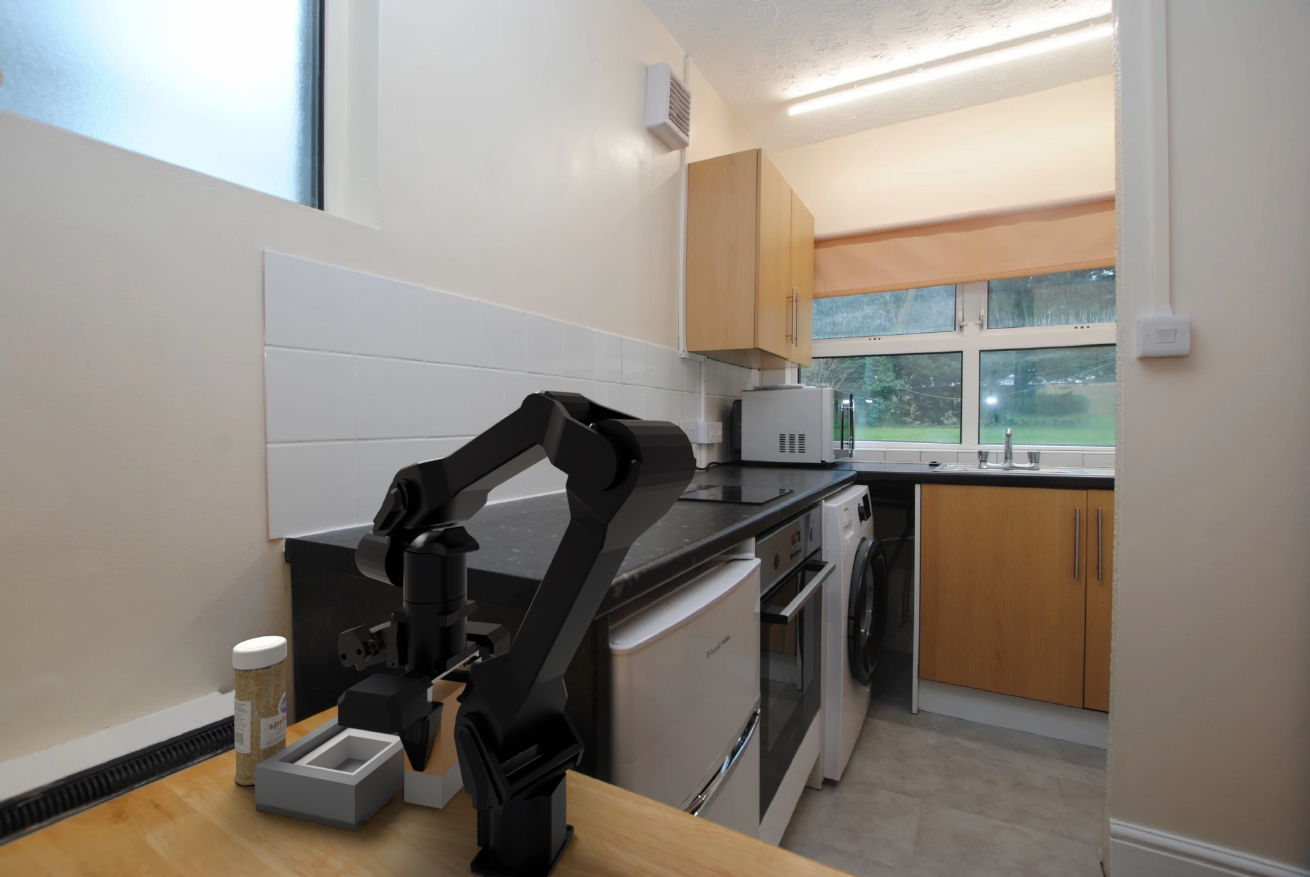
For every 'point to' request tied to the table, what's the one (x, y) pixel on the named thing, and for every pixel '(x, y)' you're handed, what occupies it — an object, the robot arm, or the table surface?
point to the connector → (438, 755)
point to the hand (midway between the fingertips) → (435, 756)
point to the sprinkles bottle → (259, 703)
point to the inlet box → (332, 776)
